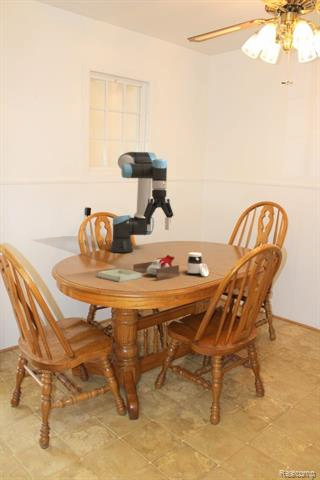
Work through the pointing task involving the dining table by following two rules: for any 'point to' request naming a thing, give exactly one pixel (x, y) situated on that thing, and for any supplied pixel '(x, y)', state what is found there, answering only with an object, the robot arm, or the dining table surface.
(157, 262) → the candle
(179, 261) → the dining table surface
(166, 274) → the walnut holder
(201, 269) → the spread jar
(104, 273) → the sage tray
